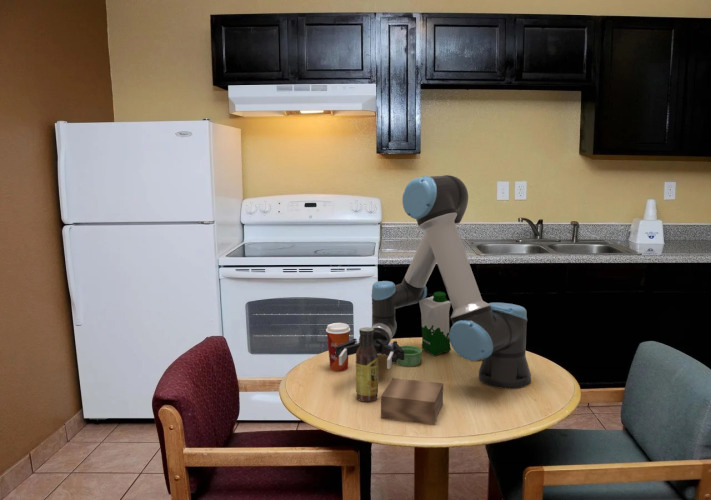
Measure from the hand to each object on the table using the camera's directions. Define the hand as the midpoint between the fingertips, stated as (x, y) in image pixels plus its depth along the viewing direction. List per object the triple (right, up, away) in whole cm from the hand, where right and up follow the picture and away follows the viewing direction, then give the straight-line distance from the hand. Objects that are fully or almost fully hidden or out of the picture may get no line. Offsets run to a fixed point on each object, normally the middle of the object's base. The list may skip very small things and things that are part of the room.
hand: (364, 362), depth 165 cm
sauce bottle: (+1, -11, +2) cm, 11 cm away
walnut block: (+13, -12, -7) cm, 19 cm away
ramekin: (+15, -6, +30) cm, 34 cm away
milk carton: (+25, -3, +40) cm, 47 cm away
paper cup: (-7, -7, +25) cm, 27 cm away
